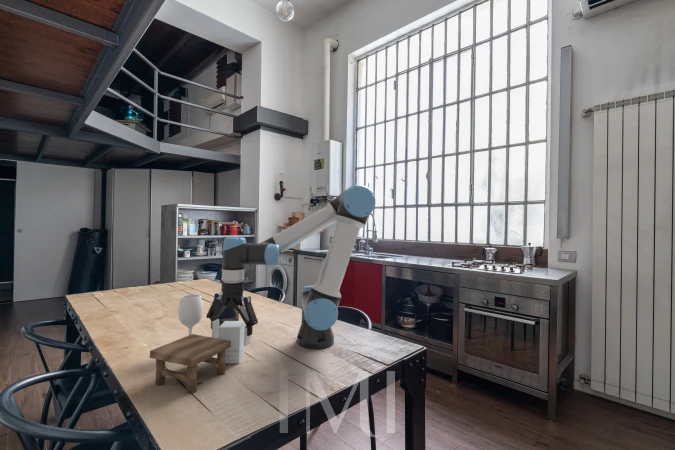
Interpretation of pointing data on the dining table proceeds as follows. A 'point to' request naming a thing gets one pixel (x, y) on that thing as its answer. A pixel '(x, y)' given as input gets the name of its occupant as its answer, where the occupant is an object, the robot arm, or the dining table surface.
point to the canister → (228, 315)
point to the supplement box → (233, 340)
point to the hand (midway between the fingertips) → (230, 341)
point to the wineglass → (190, 310)
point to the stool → (189, 357)
